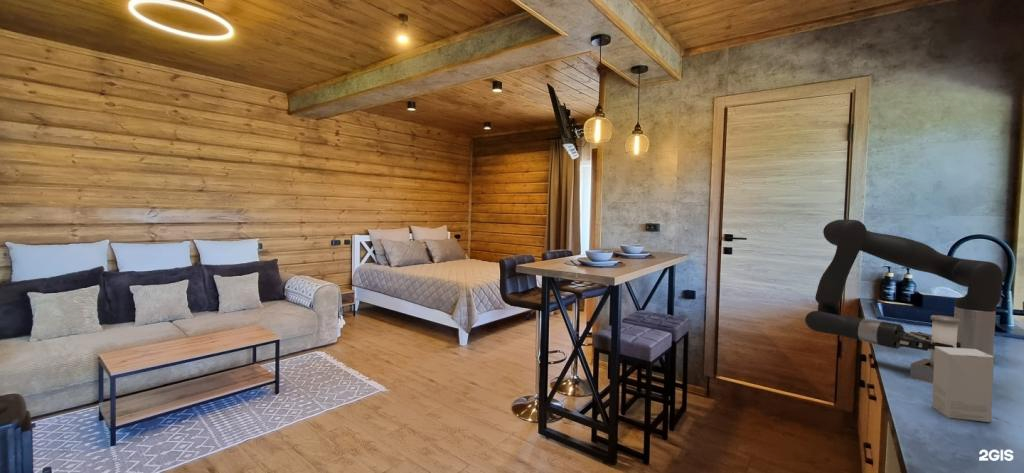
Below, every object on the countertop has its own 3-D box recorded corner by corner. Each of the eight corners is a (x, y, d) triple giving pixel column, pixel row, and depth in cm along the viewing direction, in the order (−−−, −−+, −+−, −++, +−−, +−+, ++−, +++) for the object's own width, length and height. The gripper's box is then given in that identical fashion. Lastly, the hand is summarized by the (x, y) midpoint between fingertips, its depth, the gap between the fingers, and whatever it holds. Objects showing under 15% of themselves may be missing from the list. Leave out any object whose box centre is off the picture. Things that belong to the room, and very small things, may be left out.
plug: (931, 375, 124) (935, 314, 124) (959, 382, 119) (963, 318, 119) (923, 378, 122) (927, 316, 121) (951, 385, 117) (955, 321, 116)
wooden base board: (938, 367, 134) (939, 351, 134) (989, 379, 124) (990, 362, 124) (908, 380, 123) (908, 363, 122) (961, 394, 113) (962, 376, 113)
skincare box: (973, 411, 103) (977, 348, 102) (993, 424, 97) (997, 357, 96) (929, 406, 106) (933, 344, 105) (946, 418, 100) (950, 352, 99)
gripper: (870, 323, 129) (948, 338, 114) (891, 318, 136) (966, 331, 121) (869, 348, 129) (946, 365, 114) (889, 341, 136) (965, 357, 121)
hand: (956, 348), depth 118 cm, fingers closed on plug, 5 cm apart
